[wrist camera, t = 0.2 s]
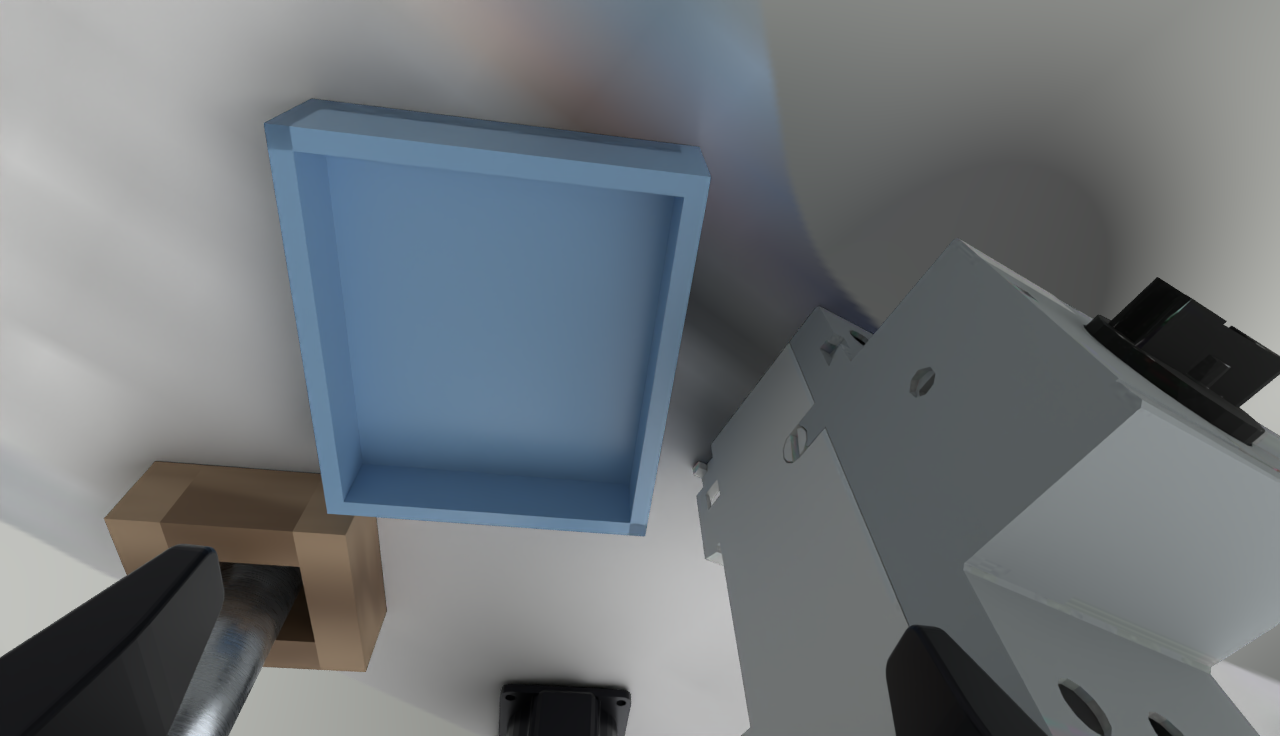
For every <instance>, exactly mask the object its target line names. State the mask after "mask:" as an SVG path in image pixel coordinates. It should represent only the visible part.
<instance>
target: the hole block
mask: <svg viewBox="0 0 1280 736" xmlns="http://www.w3.org/2000/svg"><path fill="white" fill-rule="evenodd" d="M104 520H105V523H106V525H107V527H108V530H109V532H110V535H111V537H112V540H113V542H114V545H115V547H116V550H117V552H118V554H119V557H120V559H121V562H122V564H123V567H124V569H125V572H126V574H127V575H128V574H130V573H131V572H133V571H134V570H136V569H138V568H139V567H141V566H142V565H144V564H145V563H147V562H148V561H150V560H151V559H153V558H155V557H156V556H158V555H159V554H161V553H162V552H164V551H165V550H167V549H168V548H170V547H172V546H175V545H178V544H191V545H200V546H209V547H212V548H213V549H214V550H215V551H216V552H217V555H218V560H219V565H220V566H221V565H222V563H223V562H232V563H247V564H263V565H278V566H294V567H300V571H301V576H302V581H303V585H302V587H301V589H300V591H299V593H298V595H297V597H296V599H295V601H294V603H293V605H292V607H291V609H290V611H289V613H288V615H287V618H286V620H285V622H284V624H283V626H282V628H281V630H280V632H279V634H278V636H277V638H276V640H275V642H274V644H273V646H272V648H271V650H270V652H269V654H268V656H267V658H266V660H265V662H264V664H263V666H262V667H278V668H297V669H317V670H336V671H355V672H366V670H367V667H368V664H369V661H370V658H371V655H372V652H373V649H374V647H375V644H376V641H377V638H378V635H379V632H380V629H381V626H382V623H383V621H384V618H385V615H386V612H387V609H386V600H385V591H384V582H383V573H382V564H381V555H380V546H379V537H378V528H377V519H376V517H367V516H353V515H339V514H327V508H326V502H325V496H324V489H323V483H322V477H321V474H314V473H301V472H288V471H275V470H262V469H249V468H236V467H223V466H210V465H197V464H184V463H171V462H157V461H155V462H154V463H153V464H152V465H151V466H150V468H149V469H148V470H147V471H146V472H145V473H144V474H143V475H142V477H141V478H140V479H139V480H138V481H137V482H136V483H135V484H134V485H133V487H132V488H131V489H130V490H129V491H128V492H127V493H126V494H125V496H124V497H123V498H122V499H121V500H120V501H119V502H118V503H117V505H116V506H115V507H114V508H113V509H112V510H111V511H110V512H109V513H108V515H107V516H106V517H105V518H104Z"/></svg>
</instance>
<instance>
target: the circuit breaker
mask: <svg viewBox="0 0 1280 736" xmlns="http://www.w3.org/2000/svg"><path fill="white" fill-rule="evenodd" d="M1224 323H1226V321H1225V320H1224V319H1222V318H1221V317H1219V316H1218V315H1216V314H1215V313H1213V312H1212V311H1210V310H1209V309H1207V308H1206V307H1204V306H1202V305H1201V304H1199V303H1198V302H1196V301H1195V300H1193V299H1192V298H1190V297H1189V296H1187V295H1185V294H1183V293H1182V292H1180V291H1179V290H1177V289H1175V288H1174V287H1172V286H1171V285H1169V284H1168V283H1166V282H1165V281H1163V280H1161V279H1160V278H1158V277H1157V278H1156V279H1155V280H1154V281H1153V282H1152V283H1150V285H1149V286H1147V287H1146V288H1145V289H1144V290H1143V291H1142V292H1141V293H1140V294H1139V295H1138V296H1137V297H1136V298H1135V299H1134V300H1133V301H1132V302H1131V303H1129V304H1128V305H1127V306H1126V307H1125V308H1124V309H1123V310H1122V311H1121V312H1120V313H1119V314H1118V315H1117V316H1116V317H1115V318H1114V319H1113V320H1109V319H1107V318H1105V317H1103V316H1101V315H1097V316H1096V317H1095V318H1094V319H1092V318H1090V317H1089V316H1087V315H1085V314H1084V313H1082V312H1080V311H1079V310H1077V309H1075V308H1073V307H1072V306H1070V305H1067V304H1065V303H1064V302H1062V301H1060V300H1059V299H1057V298H1056V297H1055V296H1054V295H1052V294H1051V293H1049V292H1047V291H1046V290H1044V289H1042V288H1041V287H1039V286H1037V285H1036V284H1034V283H1032V282H1031V281H1029V280H1027V279H1026V278H1024V277H1022V276H1021V275H1019V274H1017V273H1016V272H1014V271H1012V270H1011V269H1009V268H1007V267H1006V266H1004V265H1002V264H1001V263H999V262H997V261H996V260H994V259H993V258H991V257H989V256H988V255H986V254H984V253H983V252H981V251H979V250H978V249H976V248H974V247H973V246H971V245H969V244H968V243H966V242H964V241H963V240H961V239H959V238H956V239H954V240H953V241H952V242H951V243H950V244H949V246H948V247H947V248H946V249H945V250H944V252H943V253H942V254H941V255H940V256H939V258H938V259H937V260H936V261H935V262H934V264H933V265H932V266H931V267H930V268H929V269H928V271H927V272H926V273H925V274H924V275H923V277H922V278H921V279H920V280H919V281H918V282H917V284H916V285H915V286H914V287H913V288H912V290H911V291H910V292H909V293H908V294H907V295H906V297H905V298H904V299H903V300H902V302H901V303H900V304H899V305H898V306H897V307H896V308H895V310H894V311H893V312H892V313H891V315H890V316H889V317H888V318H887V319H886V320H885V322H884V323H883V324H882V325H881V326H880V327H879V329H878V330H877V331H876V332H875V333H874V335H873V334H872V333H870V332H868V331H866V330H864V329H862V328H860V327H858V326H856V325H854V324H852V323H851V322H849V321H847V320H845V319H843V318H841V317H839V316H837V315H835V314H833V313H832V312H830V311H828V310H826V309H824V308H822V307H820V306H818V307H816V308H815V309H814V311H813V312H812V313H811V315H810V316H809V317H808V318H807V320H806V321H805V322H804V324H803V325H802V326H801V328H800V329H799V330H798V331H797V333H796V334H795V335H794V337H793V338H792V339H791V341H790V343H788V345H787V346H786V347H785V348H784V350H783V351H782V352H781V354H780V355H779V356H778V358H777V359H776V360H775V362H774V363H773V364H772V365H771V367H770V368H769V369H768V371H767V372H766V373H765V375H764V376H763V377H762V379H761V380H760V381H759V383H758V384H757V385H756V386H755V388H754V389H753V390H752V392H751V393H750V394H749V396H748V397H747V398H746V400H745V401H744V402H743V403H742V405H741V406H740V407H739V409H738V410H737V411H736V413H735V414H734V415H733V417H732V418H731V419H730V420H729V422H728V423H727V424H726V426H725V427H724V428H723V430H722V431H721V432H720V434H719V435H718V436H717V437H716V439H715V440H714V441H713V443H712V444H711V449H712V455H713V457H712V459H711V460H710V461H709V462H708V464H704V463H702V462H700V461H698V462H697V464H696V465H695V466H694V468H693V474H694V475H695V476H697V477H699V478H702V482H703V488H702V490H701V491H700V492H699V493H698V495H697V504H698V511H699V518H700V525H701V533H702V540H703V547H704V554H705V559H706V560H709V561H711V562H714V563H717V564H719V565H722V566H724V570H725V576H726V582H727V588H728V594H729V600H730V606H731V612H732V619H733V625H734V631H735V637H736V643H737V649H738V655H739V661H740V667H741V673H742V679H743V685H744V691H745V697H746V703H747V709H748V715H749V721H750V728H749V729H748V730H747V731H746V732H745V733H744V734H742V735H741V736H896V734H895V728H894V722H893V717H892V711H891V705H890V699H889V694H888V688H887V682H886V664H887V660H888V658H889V656H890V654H891V653H892V651H893V650H894V648H895V646H896V645H897V643H898V641H899V640H900V638H901V637H902V635H903V633H904V632H905V630H906V629H907V628H908V627H909V626H911V625H915V624H917V625H926V626H935V627H938V628H941V629H942V630H944V631H945V632H946V633H947V634H948V635H949V636H950V637H951V638H952V639H953V640H954V641H955V642H956V643H957V644H958V645H959V646H960V647H961V648H962V649H963V650H964V651H965V652H966V653H967V654H968V655H969V656H970V657H971V658H972V659H973V660H974V661H975V662H976V663H977V664H978V665H979V666H980V667H981V668H982V669H983V670H984V671H985V672H986V673H987V674H988V675H989V676H990V677H991V678H992V679H993V680H994V681H995V682H996V683H997V684H998V685H999V686H1000V687H1001V688H1002V689H1003V690H1004V691H1005V692H1006V693H1007V694H1008V695H1009V696H1010V697H1011V698H1012V699H1013V700H1014V701H1015V702H1016V703H1017V704H1018V705H1019V706H1020V707H1021V708H1022V709H1023V710H1024V712H1025V713H1026V714H1027V715H1028V716H1029V717H1030V718H1031V719H1032V720H1033V721H1034V722H1035V723H1036V724H1037V725H1038V726H1039V727H1040V728H1041V729H1042V730H1043V731H1044V732H1045V733H1046V734H1047V735H1048V736H1260V735H1259V734H1258V733H1257V732H1256V731H1255V729H1254V728H1253V727H1252V726H1251V724H1250V723H1249V722H1248V721H1247V719H1246V718H1245V717H1244V716H1243V714H1242V713H1241V712H1240V711H1239V709H1238V708H1237V707H1236V706H1235V704H1234V703H1233V702H1232V701H1231V699H1230V698H1229V697H1228V696H1227V694H1226V693H1225V692H1224V691H1223V689H1222V688H1221V687H1220V686H1219V684H1218V683H1217V682H1216V681H1215V679H1214V678H1213V677H1212V676H1211V674H1210V672H1211V667H1212V666H1214V665H1215V664H1217V663H1219V662H1220V661H1222V660H1223V659H1225V658H1226V657H1228V656H1229V655H1231V654H1233V653H1234V652H1236V651H1237V650H1239V649H1240V648H1242V647H1244V646H1245V645H1247V644H1248V643H1250V642H1251V641H1253V640H1254V639H1256V638H1257V637H1259V636H1260V635H1262V634H1264V633H1265V632H1267V631H1269V630H1270V629H1272V628H1273V627H1275V626H1276V625H1278V624H1279V623H1280V436H1279V435H1278V434H1276V433H1274V432H1273V431H1271V430H1269V429H1268V428H1266V427H1264V426H1263V425H1261V424H1259V423H1258V422H1256V421H1255V420H1254V419H1253V418H1252V417H1251V416H1249V415H1248V414H1247V413H1246V412H1245V411H1243V410H1242V409H1240V408H1239V407H1240V406H1241V405H1242V404H1244V403H1245V402H1246V401H1247V400H1249V399H1250V398H1251V397H1252V396H1253V395H1255V394H1256V393H1257V392H1258V391H1260V390H1261V389H1262V388H1263V387H1264V386H1266V385H1267V384H1268V383H1270V382H1271V381H1272V380H1273V379H1274V378H1276V377H1277V376H1278V375H1279V374H1280V356H1279V355H1277V354H1276V353H1274V352H1272V351H1271V350H1269V349H1268V348H1266V347H1265V346H1263V345H1261V344H1260V343H1258V342H1257V341H1255V340H1254V339H1252V338H1250V337H1249V336H1247V335H1246V334H1244V333H1243V332H1241V331H1240V330H1238V329H1236V328H1235V327H1233V326H1231V327H1229V328H1228V327H1227V326H1225V325H1223V324H1224ZM719 491H720V496H719V497H718V499H717V500H716V501H715V502H714V504H713V505H712V506H711V501H712V500H713V498H714V497H715V496H716V495H717V493H718V492H719Z"/></svg>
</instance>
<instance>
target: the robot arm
mask: <svg viewBox="0 0 1280 736" xmlns="http://www.w3.org/2000/svg"><path fill="white" fill-rule="evenodd" d="M223 601H224V586H223V581H222V576H221V570H220V565H219V560H218V555H217V552H216V551H215V550H214V549H213V548H212V547H209V546H200V545H191V544H178V545H175V546H172V547H170V548H168V549H167V550H165V551H164V552H162V553H161V554H159V555H158V556H156V557H155V558H153V559H151V560H150V561H148V562H147V563H145V564H144V565H142V566H141V567H139V568H138V569H136V570H134V571H133V572H131V573H130V574H128V575H127V576H125V577H124V578H122V579H121V580H119V581H117V582H116V583H115V584H113V585H111V586H110V587H108V588H107V589H105V590H104V591H102V592H101V593H99V594H97V595H96V596H94V597H93V598H91V599H90V600H88V601H87V602H85V603H83V604H82V605H80V606H79V607H77V608H76V609H74V610H73V611H71V612H70V613H68V614H67V615H65V616H64V617H62V618H60V619H59V620H57V621H56V622H54V623H53V624H51V625H50V626H48V627H47V628H45V629H43V630H42V631H40V632H39V633H38V634H36V635H34V636H33V637H31V638H30V639H28V640H26V641H25V642H23V643H22V644H20V645H19V646H17V647H16V648H14V649H13V650H11V651H9V652H8V653H6V654H5V655H3V656H2V657H1V658H0V736H167V735H168V733H169V731H170V728H171V726H172V724H173V722H174V720H175V717H176V715H177V713H178V710H179V708H180V706H181V703H182V701H183V699H184V696H185V694H186V692H187V689H188V687H189V685H190V682H191V680H192V678H193V675H194V673H195V670H196V668H197V666H198V663H199V661H200V659H201V656H202V654H203V652H204V649H205V647H206V645H207V642H208V640H209V638H210V635H211V633H212V631H213V628H214V626H215V623H216V621H217V619H218V616H219V614H220V612H221V609H222V605H223ZM886 682H887V688H888V694H889V699H890V705H891V711H892V717H893V722H894V728H895V734H896V736H1048V735H1047V734H1046V733H1045V732H1044V731H1043V730H1042V729H1041V728H1040V727H1039V726H1038V725H1037V724H1036V723H1035V722H1034V721H1033V720H1032V719H1031V718H1030V717H1029V716H1028V715H1027V714H1026V713H1025V712H1024V710H1023V709H1022V708H1021V707H1020V706H1019V705H1018V704H1017V703H1016V702H1015V701H1014V700H1013V699H1012V698H1011V697H1010V696H1009V695H1008V694H1007V693H1006V692H1005V691H1004V690H1003V689H1002V688H1001V687H1000V686H999V685H998V684H997V683H996V682H995V681H994V680H993V679H992V678H991V677H990V676H989V675H988V674H987V673H986V672H985V671H984V670H983V669H982V668H981V667H980V666H979V665H978V664H977V663H976V662H975V661H974V660H973V659H972V658H971V657H970V656H969V655H968V654H967V653H966V652H965V651H964V650H963V649H962V648H961V647H960V646H959V645H958V644H957V643H956V642H955V641H954V640H953V639H952V638H951V637H950V636H949V635H948V634H947V633H946V632H945V631H944V630H942V629H941V628H938V627H935V626H926V625H917V624H915V625H911V626H909V627H908V628H907V629H906V630H905V632H904V633H903V635H902V637H901V638H900V640H899V641H898V643H897V645H896V646H895V648H894V650H893V651H892V653H891V654H890V656H889V658H888V660H887V664H886ZM630 707H631V694H630V692H628V691H626V690H617V689H598V688H578V687H558V686H539V685H519V684H507V685H504V686H503V687H502V689H501V695H500V719H499V736H625V731H626V726H627V721H628V716H629V711H630Z"/></svg>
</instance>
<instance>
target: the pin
mask: <svg viewBox="0 0 1280 736" xmlns="http://www.w3.org/2000/svg"><path fill="white" fill-rule="evenodd" d="M220 570H221V576H222V581H223V586H224V601H223V605H222V609H221V612H220V614H219V616H218V619H217V621H216V623H215V626H214V628H213V631H212V633H211V635H210V638H209V640H208V642H207V645H206V647H205V649H204V652H203V654H202V656H201V659H200V661H199V663H198V666H197V668H196V670H195V673H194V675H193V678H192V680H191V682H190V685H189V687H188V689H187V692H186V694H185V696H184V699H183V701H182V703H181V706H180V708H179V710H178V713H177V715H176V717H175V720H174V722H173V724H172V726H171V728H170V731H169V733H168V735H167V736H228V735H229V733H230V731H231V729H232V727H233V725H234V723H235V721H236V719H237V717H238V715H239V713H240V711H241V709H242V707H243V705H244V703H245V701H246V699H247V697H248V695H249V693H250V691H251V689H252V687H253V685H254V683H255V680H256V679H257V676H258V674H259V672H260V670H261V668H262V666H263V664H264V662H265V660H266V658H267V656H268V654H269V652H270V650H271V648H272V646H273V644H274V642H275V640H276V638H277V636H278V634H279V632H280V630H281V628H282V626H283V624H284V622H285V620H286V618H287V615H288V613H289V611H290V609H291V607H292V605H293V603H294V601H295V599H296V597H297V595H298V593H299V591H300V589H301V587H302V585H303V581H302V576H301V571H300V567H294V566H278V565H263V564H247V563H232V562H223V563H222V565H221V566H220Z"/></svg>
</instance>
